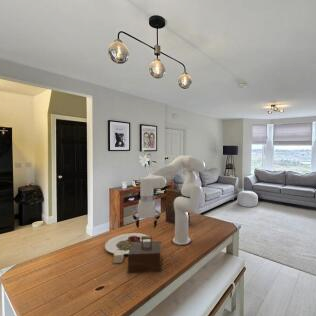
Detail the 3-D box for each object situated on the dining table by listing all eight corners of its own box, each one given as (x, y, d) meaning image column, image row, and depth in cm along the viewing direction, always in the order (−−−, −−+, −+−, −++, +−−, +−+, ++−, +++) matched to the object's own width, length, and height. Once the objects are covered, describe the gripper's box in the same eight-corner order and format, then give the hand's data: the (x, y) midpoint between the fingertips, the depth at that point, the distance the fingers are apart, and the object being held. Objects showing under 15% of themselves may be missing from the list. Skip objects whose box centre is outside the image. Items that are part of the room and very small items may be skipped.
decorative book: (189, 224, 171) (190, 190, 170) (185, 227, 165) (185, 191, 164) (169, 219, 184) (169, 187, 183) (164, 221, 178) (164, 188, 177)
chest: (132, 258, 116) (132, 244, 115) (160, 257, 117) (161, 243, 117) (128, 272, 103) (128, 255, 102) (159, 270, 104) (160, 254, 104)
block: (115, 258, 115) (115, 251, 115) (123, 258, 116) (123, 251, 116) (113, 263, 111) (113, 255, 111) (121, 262, 111) (121, 255, 111)
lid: (133, 243, 116) (133, 234, 116) (161, 242, 118) (161, 233, 118) (128, 255, 102) (128, 246, 102) (160, 254, 104) (160, 244, 104)
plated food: (100, 259, 114) (100, 253, 114) (109, 237, 143) (109, 232, 143) (152, 253, 121) (152, 248, 121) (150, 234, 150) (150, 229, 150)
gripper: (162, 196, 118) (161, 224, 118) (132, 196, 116) (132, 225, 117) (161, 199, 111) (161, 229, 111) (130, 199, 109) (130, 230, 109)
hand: (146, 227), depth 114 cm, fingers open, 9 cm apart
